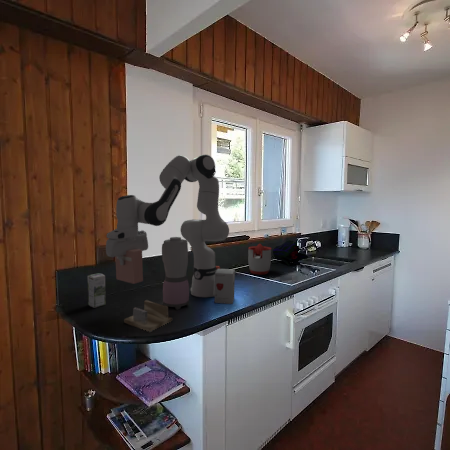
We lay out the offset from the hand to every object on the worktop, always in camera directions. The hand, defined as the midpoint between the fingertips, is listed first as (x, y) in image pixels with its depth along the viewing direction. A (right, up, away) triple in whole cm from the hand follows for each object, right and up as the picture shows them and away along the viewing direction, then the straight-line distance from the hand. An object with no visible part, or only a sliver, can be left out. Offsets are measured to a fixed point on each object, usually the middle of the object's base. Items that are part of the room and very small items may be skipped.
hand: (128, 263), depth 133 cm
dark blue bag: (+93, -13, +95) cm, 134 cm away
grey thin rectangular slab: (+9, -21, -14) cm, 27 cm away
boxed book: (0, -8, +1) cm, 8 cm away
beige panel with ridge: (+11, -23, -11) cm, 28 cm away
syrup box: (-17, -21, +7) cm, 28 cm away
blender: (+18, -21, +10) cm, 29 cm away
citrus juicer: (+66, -16, +68) cm, 96 cm away
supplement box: (+43, -21, +15) cm, 50 cm away
